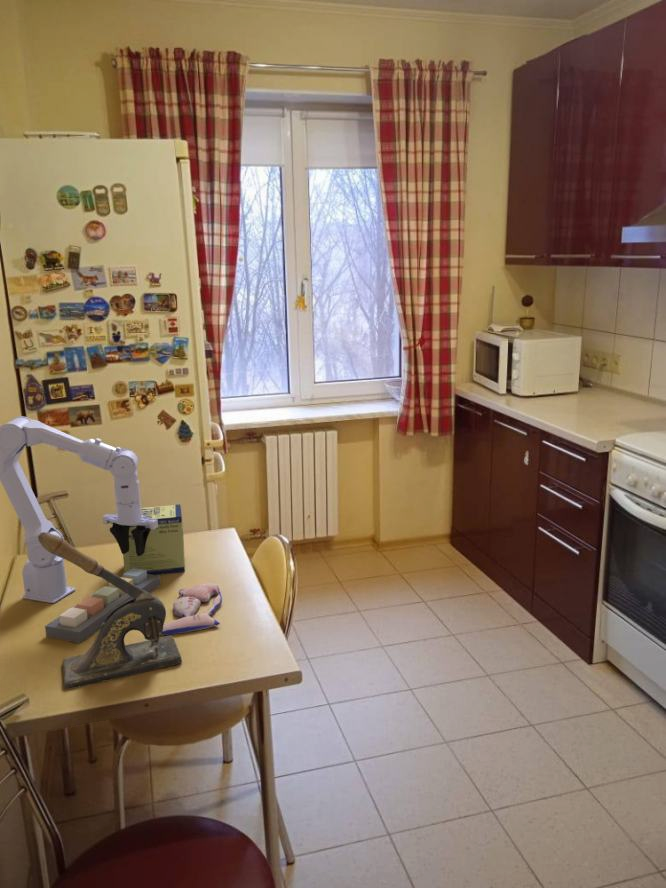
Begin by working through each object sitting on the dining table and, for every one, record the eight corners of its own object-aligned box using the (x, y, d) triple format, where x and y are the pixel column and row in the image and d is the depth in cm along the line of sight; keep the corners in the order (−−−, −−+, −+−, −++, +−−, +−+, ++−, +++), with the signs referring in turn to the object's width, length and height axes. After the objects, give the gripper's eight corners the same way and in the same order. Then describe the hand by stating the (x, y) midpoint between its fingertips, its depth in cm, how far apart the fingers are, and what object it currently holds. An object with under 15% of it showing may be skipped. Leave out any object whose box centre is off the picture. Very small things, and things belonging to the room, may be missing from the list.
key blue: (124, 585, 172) (123, 574, 171) (134, 579, 175) (132, 567, 175) (137, 587, 170) (136, 576, 170) (147, 581, 174) (146, 569, 173)
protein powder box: (186, 572, 183) (181, 515, 179) (124, 579, 179) (118, 521, 176) (185, 557, 193) (181, 503, 189) (126, 563, 189) (121, 509, 186)
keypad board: (46, 636, 151) (44, 626, 150) (130, 580, 178) (129, 571, 178) (80, 643, 148) (79, 632, 147) (160, 584, 175) (159, 575, 175)
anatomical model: (161, 640, 150) (231, 628, 154) (160, 627, 149) (230, 616, 153) (155, 599, 169) (217, 589, 173) (154, 588, 168) (216, 578, 172)
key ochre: (109, 595, 167) (108, 583, 166) (120, 588, 170) (119, 576, 170) (123, 597, 165) (122, 585, 165) (134, 590, 169) (132, 578, 168)
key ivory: (60, 628, 151) (59, 615, 151) (73, 619, 155) (71, 607, 154) (75, 630, 150) (74, 618, 149) (88, 622, 154) (86, 609, 153)
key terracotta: (78, 616, 157) (76, 604, 156) (89, 608, 160) (88, 596, 159) (92, 619, 155) (91, 606, 154) (104, 611, 159) (103, 598, 158)
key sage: (94, 605, 162) (93, 593, 161) (105, 598, 165) (104, 586, 165) (108, 607, 160) (107, 595, 160) (119, 600, 164) (118, 588, 163)
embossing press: (183, 667, 138) (171, 524, 131) (55, 692, 131) (35, 541, 124) (176, 641, 148) (165, 506, 141) (57, 662, 141) (39, 522, 134)
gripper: (163, 498, 169) (167, 550, 172) (113, 493, 174) (118, 544, 177) (146, 507, 163) (151, 561, 166) (95, 501, 168) (100, 554, 171)
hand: (133, 553), depth 171 cm, fingers open, 4 cm apart
